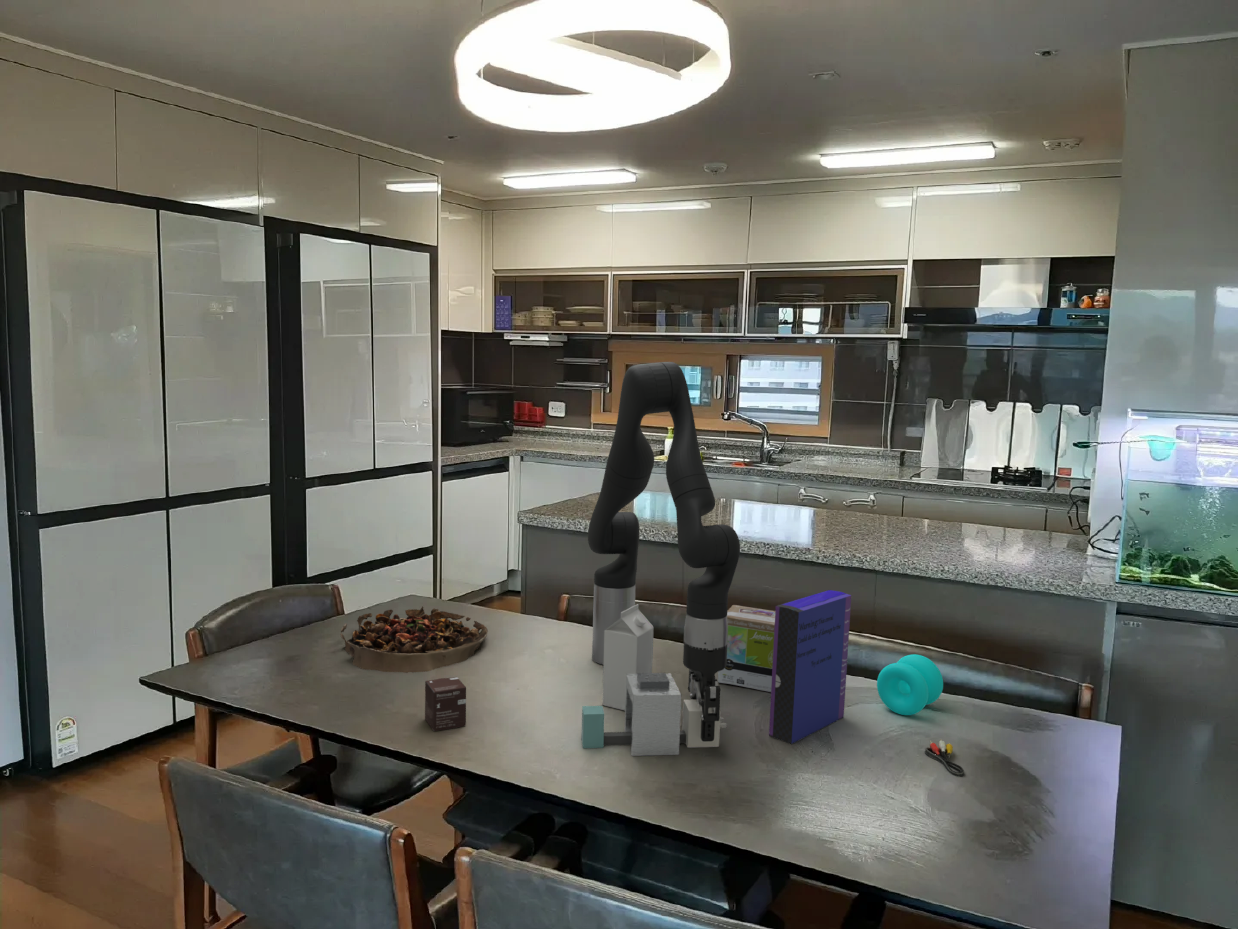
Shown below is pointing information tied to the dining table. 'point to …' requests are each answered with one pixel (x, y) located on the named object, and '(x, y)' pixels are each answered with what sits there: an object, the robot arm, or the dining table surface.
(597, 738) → the plug
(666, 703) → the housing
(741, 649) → the tea box
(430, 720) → the box
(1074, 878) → the dining table surface
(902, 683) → the turquoise yo-yo
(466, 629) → the potpourri bowl
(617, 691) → the milk carton
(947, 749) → the composite cable
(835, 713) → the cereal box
